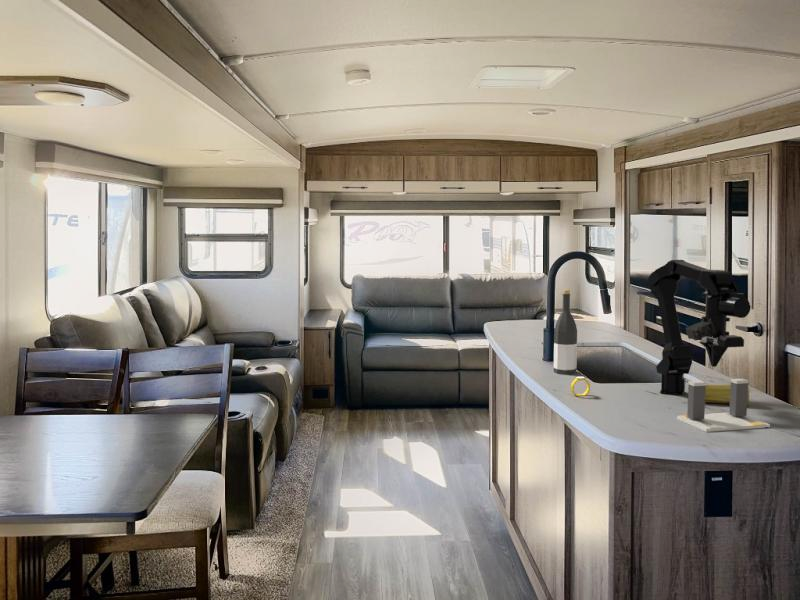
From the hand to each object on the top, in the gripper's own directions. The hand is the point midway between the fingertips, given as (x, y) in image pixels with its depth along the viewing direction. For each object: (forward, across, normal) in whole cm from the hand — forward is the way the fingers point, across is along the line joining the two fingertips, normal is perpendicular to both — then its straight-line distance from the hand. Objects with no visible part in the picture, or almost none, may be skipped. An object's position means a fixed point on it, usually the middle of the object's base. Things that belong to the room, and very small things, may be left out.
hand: (713, 366), depth 214 cm
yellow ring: (+12, -21, -32) cm, 40 cm away
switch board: (+12, +16, -8) cm, 22 cm away
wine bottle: (+12, -55, -22) cm, 61 cm away
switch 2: (+11, +14, -2) cm, 18 cm away
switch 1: (+11, +14, -15) cm, 23 cm away
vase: (+9, +1, +12) cm, 15 cm away
